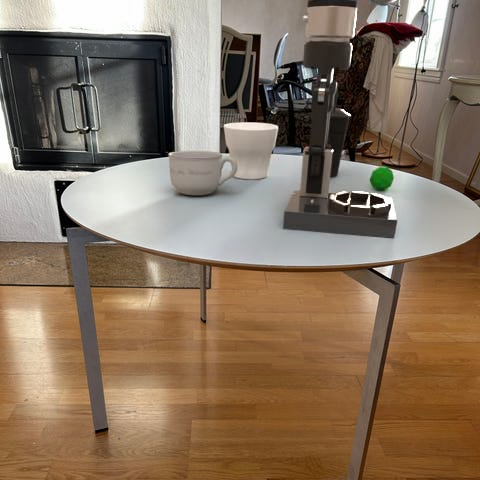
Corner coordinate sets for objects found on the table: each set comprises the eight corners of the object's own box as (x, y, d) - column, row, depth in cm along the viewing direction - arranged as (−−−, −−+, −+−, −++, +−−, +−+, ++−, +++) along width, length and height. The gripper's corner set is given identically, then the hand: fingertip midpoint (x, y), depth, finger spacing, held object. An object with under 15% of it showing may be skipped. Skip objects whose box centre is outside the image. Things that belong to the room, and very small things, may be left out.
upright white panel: (328, 195, 88) (333, 148, 84) (327, 198, 86) (332, 150, 82) (300, 193, 89) (304, 146, 85) (299, 196, 87) (303, 148, 83)
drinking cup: (339, 171, 120) (349, 82, 110) (346, 178, 113) (358, 84, 103) (308, 171, 119) (316, 81, 110) (314, 178, 113) (323, 83, 103)
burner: (387, 202, 84) (389, 193, 84) (391, 219, 76) (392, 209, 75) (330, 198, 86) (331, 189, 85) (327, 214, 78) (328, 204, 77)
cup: (212, 176, 113) (212, 125, 107) (242, 167, 122) (243, 120, 116) (258, 184, 107) (259, 131, 101) (285, 174, 116) (288, 125, 110)
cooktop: (388, 211, 90) (391, 194, 89) (394, 238, 77) (397, 219, 76) (290, 203, 94) (291, 187, 92) (279, 228, 80) (280, 209, 79)
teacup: (160, 195, 97) (157, 153, 93) (187, 183, 106) (186, 145, 102) (221, 204, 92) (221, 161, 88) (244, 192, 101) (245, 152, 97)
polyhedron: (371, 192, 102) (374, 169, 100) (365, 186, 107) (369, 164, 104) (394, 192, 103) (398, 169, 100) (388, 187, 107) (391, 164, 105)
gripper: (309, 41, 84) (298, 177, 95) (299, 38, 69) (287, 200, 80) (353, 42, 82) (337, 180, 94) (352, 39, 68) (333, 204, 79)
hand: (314, 189), depth 87 cm, fingers open, 4 cm apart
